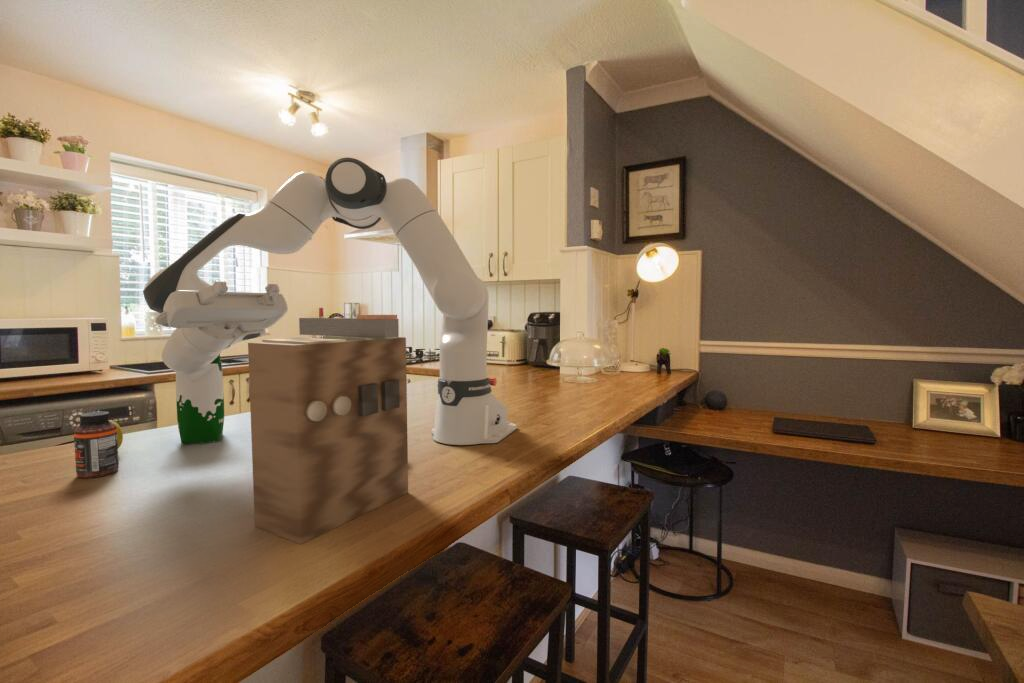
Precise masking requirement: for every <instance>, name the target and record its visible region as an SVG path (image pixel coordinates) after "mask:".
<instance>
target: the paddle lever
mask: <svg viewBox="0 0 1024 683" xmlns="http://www.w3.org/2000/svg"><path fill="white" fill-rule="evenodd" d="M298 323H299V327H298V328H299V335H300V336H301V335H303V336H321V337H323V336H347V337H372V338H393V337H400V335H399V333H400V332H399V318H398V314H357V315H356V317H355V318H354V317H351V318H349V317H347V318H346V317H345V318H344V317H340V318H339V317H299V320H298Z"/></svg>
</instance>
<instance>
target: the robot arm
mask: <svg viewBox="0 0 1024 683" xmlns="http://www.w3.org/2000/svg"><path fill="white" fill-rule="evenodd" d="M329 218H332V220H333V221H334V222H336V223H339V224H343V225H346V226H349V227H351V228H354V229H358V230H368V229H371V228H374V227H375V226H376V225H377V224H378V223H379V222H380V220H381V219H382V220H383V221H385V222H386V224H388V225H389V227H390V228H391V230H392V232H393V234H394V235H395V236H396V238H397V240H398V241H399V243H400V244H401V246H402V247H403V249H404V250H405V252H406V253H407V255H408V257H409V258H410V259H411V261H412V263H413V264H414V266H415V268H416V269H417V272H418V274H419V276H420V278H421V280H422V282H423V284H424V286H425V288H426V289H427V291H428V293H429V295H430V297H431V298H432V301H433V302H434V303H435V305H436V307H437V309H438V310H439V312H440V313H442V324H441V332H440V333H441V334H440V341H439V346H438V348H439V378H437V394H438V397H439V398H438V399H437V400H436V405H435V414H434V415H435V416H434V427H432V428H431V434H433V438H432V439H433V441H435V442H438V443H442V444H446V445H451V446H452V445H453V446H468V445H469V446H471V445H479V444H496V443H499V442H500V441H502V440H503V439H504V438H506V437H507V436H508V435H510V434H511V433H513V432H514V431H515V430H517V429H518V428H517V424H515V423H513V422H510V421H508V411H507V406H506V405H505V404H504V403H503V402H502V401H501V400H500V399H498V398H497V397H496V396H495V395H494V394H493V393H492V386H493V387H496V386H497V384H498V380H497V377H490V376H489V377H488V371H487V370H488V366H487V365H488V356H487V354H488V353H487V352H488V350H487V348H488V346H487V345H488V327H489V325H488V324H489V298H490V297H489V290H488V287H487V285H486V284H485V282H484V281H483V280H482V279H481V278H479V277H478V275H477V274H476V273H475V271H474V269H473V268H472V266H471V264H470V263H469V261H468V259H467V258H466V256H465V255H464V253H463V251H462V249H461V248H460V246H459V244H458V242H457V240H456V239H455V237H454V236H453V234H452V233H451V231H450V229H449V228H448V226H447V225H446V223H445V221H444V220H443V219H442V217H441V215H440V213H439V212H438V210H437V209H436V208H435V206H434V205H433V203H432V202H431V201H430V199H429V198H428V196H427V195H426V194H425V193H424V192H423V191H422V190H421V188H420V187H419V186H418V185H417V184H416V182H414V181H413V180H411V179H409V178H404V177H401V178H395V179H393V180H391V181H389V182H387V180H386V176H385V175H384V174H383V173H381V172H379V171H377V170H375V169H373V168H372V166H369V165H368V164H366V162H364V161H361V160H359V159H356V158H354V157H341V158H339V159H336V160H335V161H333V162H332V163H331V164H330V166H328V168H327V171H326V173H325V177H324V179H323V178H322V177H320V176H318V175H317V174H314V173H312V172H309V171H301V172H297V173H295V174H294V175H293V176H291V178H289V179H288V180H287V181H286V182H284V183H283V184H282V186H280V187H279V188H278V190H276V192H274V193H273V195H272V196H271V197H270V199H268V200H267V202H266V203H265V204H264V205H263V206H262V207H261V208H259V209H257V210H255V211H253V212H249V213H244V212H237V213H235V214H233V215H231V216H229V217H228V218H227V219H225V220H224V221H223V222H221V224H219V225H217V227H215V228H213V229H212V230H211V231H210V232H209V233H207V234H206V235H205V236H204V237H202V238H201V240H199V241H198V242H197V243H195V244H194V245H193V246H191V247H190V249H187V251H186V252H185V253H183V254H182V255H181V256H180V257H179V258H178V259H176V261H174V262H172V263H171V264H169V265H168V266H166V267H164V268H162V269H160V270H159V271H157V272H156V273H154V275H152V277H150V278H149V279H148V281H147V282H146V284H145V287H144V289H143V290H142V293H143V298H144V299H145V302H146V304H147V306H148V308H149V309H150V310H151V311H153V312H156V313H158V315H157V316H156V317H155V323H156V324H157V325H160V326H161V325H162V327H165V328H175V329H174V330H173V332H172V333H171V334H170V336H169V337H168V339H167V340H166V342H165V344H164V346H163V349H162V350H161V359H162V362H163V364H164V365H165V366H166V367H167V368H169V369H170V370H171V371H173V372H175V373H176V372H178V373H181V374H193V373H196V372H198V371H200V370H202V369H203V368H205V367H206V366H208V365H209V364H210V363H211V362H212V361H214V360H215V359H216V358H217V357H218V356H219V354H220V355H221V353H222V352H223V351H224V350H226V349H228V348H230V347H231V346H232V345H235V344H238V343H240V342H244V341H248V340H251V339H252V340H253V339H256V338H261V337H263V336H264V335H265V334H266V333H267V332H266V329H268V328H271V327H272V326H274V325H275V324H277V322H278V321H279V320H281V319H282V318H283V317H284V316H285V315H286V313H287V312H288V311H289V310H288V309H289V308H288V307H289V306H288V303H287V301H286V298H285V297H284V295H283V294H282V293H280V290H281V289H280V287H279V285H278V283H277V284H276V283H268V284H267V285H266V286H265V288H264V289H265V291H266V292H244V291H241V292H240V291H238V292H236V291H228V286H227V282H226V281H220V280H216V281H214V282H213V283H212V284H210V283H208V282H207V281H205V280H204V279H202V278H200V277H199V276H198V271H199V270H202V269H203V267H204V266H205V265H207V264H208V263H209V262H210V261H211V260H213V259H214V258H215V257H216V256H218V254H220V253H221V252H222V251H223V250H225V249H227V248H229V247H232V246H243V247H248V248H253V249H255V250H256V249H257V250H260V251H263V252H266V253H271V254H275V255H290V254H291V255H292V254H294V253H297V252H299V251H301V249H303V247H305V246H306V245H307V243H308V242H309V241H310V240H311V239H312V237H313V236H314V234H315V233H316V232H317V231H318V229H319V228H320V226H322V224H323V223H325V221H326V220H328V219H329Z"/></svg>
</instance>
